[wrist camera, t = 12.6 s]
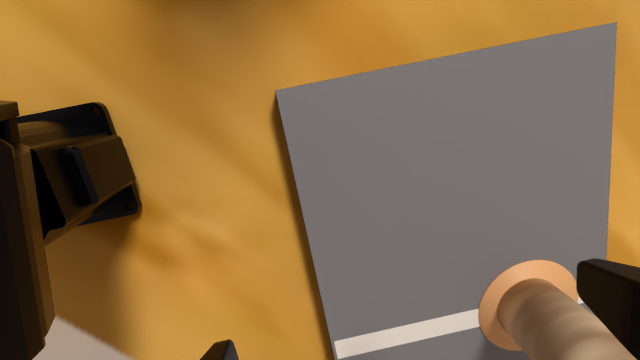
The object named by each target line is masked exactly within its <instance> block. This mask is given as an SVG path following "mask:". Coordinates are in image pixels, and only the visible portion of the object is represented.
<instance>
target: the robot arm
mask: <svg viewBox="0 0 640 360" xmlns="http://www.w3.org/2000/svg"><path fill="white" fill-rule="evenodd" d="M95 107H96V108H97V109H98V110H99V113H100V114H99V116H97V115H95V114H94V108H95ZM17 116H19V110H18V104H17V102H13V101H0V360H32V359H33V358H34V357H35V356H36V355H37V354H38V353H39V352H40V351H41V350H42V349H43V348H44V346H45V338H44V337H45V336H46V335H47V333H48V331H49V329H50V327H51V324H52V322H53V320H54V318H55V314H54V307H53V300H52V294H51V287H50V280H49V273H48V267H47V260H46V253H45V246H46V245H48V244H49V243H51V242H52V241H54V240H56V239H57V238H59V237H60V236H62V235H63V234H65V233H66V232H68V231H69V230H71V229H73V228H74V227H76V226H79V225H84V224H89V223H94V222H98V221H103V220H108V219H113V218H117V217H122V216H127V215H132V214H134V213H136V212H137V211H138V210H139V209H140V208H141V201H140V199H139V196H138V193H137V190H136V188H135V185H134V180H135V176H134V173H133V170H132V167H131V164H130V162H129V159H128V156H127V153H126V150H125V148H124V145H123V142H122V139H121V138H120V137H119V136H118V135H116V132H115V129H114V126H113V123H112V121H111V118H110V115H109V112H108V110H107V108H106V106H105V105H103V104H102V103H99V102H93V103H87V104H82V105H77V106H72V107H67V108H61V109H56V110H51V111H46V112H41V113H36V114H31V115H26V116H21V117H17ZM128 202H130V203H132V204H133V205H134V208H130V207H129V206H128ZM576 290H577V293H578V295H579V297H580V299H581V300H582V301H583V302H584V303H585V304H586V305H587V307H588V308H589V309H590V310H591V311H592V312H593V313H594V314H595V315H596V316H597V318H598V319H599V320H600V321H601V322H602V323H603V324H604V325H605V326H606V328H607V329H608V330H609V331H610V332H611V333H612V334H613V335H614V336H615V338H616V339H617V340H618V341H619V342H620V343H621V344H622V345H623V346H624V347H625V348H626V349H627V350H628V352H629V353H630V354H632V355H633V356H634V357H635V358H636V359H637V360H640V268H639V267H635V266H630V265H625V264H621V263H616V262H612V261H607V260H603V259H598V258H592V259H588V260H583V261H580V262H579V263H578V264H577V276H576ZM200 360H239V359H238V355H237V352H236V349H235V346H234V343H233V342H232V340H224V341H220V342H216V343H214V344H213V345H212V346H211V348H210V349H209V350H208V351H207V352H206V353H205V354H204V356H203V357H202V358H201V359H200Z"/></svg>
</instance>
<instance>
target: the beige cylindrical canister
mask: <svg viewBox="0 0 640 360" xmlns="http://www.w3.org/2000/svg"><path fill="white" fill-rule="evenodd" d="M497 318H498V321H499V323H500V325H501V326H502V328H503V329H504V330H505V331H506V332H507V333H508V334H509V336H510V337H511V338H512V339H513V340H514V341H515V342H516V344H517V345H518V346H519V347H520V348H521V349H522V350H523V352H524V353H525V354H526V355H527V356H528V357H529V358H530V359H531V360H637V359H636V358H635V357H634V356H633V355H632V354H630V353H629V352H628V350H627V349H626V348H625V347H624V346H623V345H622V344H621V343H620V342H619V341H618V340H617V339H616V338H615V336H614V335H613V334H612V333H611V332H610V331H609V330H608V329H607V328H606V326H605V325H604V324H603V323H602V322H601V321H600V320H599V319H598V318H597V317H596V316H595V315H593V314H592V313H591V312H589V311H588V310H587V309H585V308H584V307H583V306H581V305H580V304H579V303H577V302H576V301H575V300H573V299H572V298H570V297H569V296H568V295H566V294H565V293H564V292H562V291H561V290H560V289H558V288H557V287H556V286H554V285H553V284H552V283H550V282H549V281H547V280H544V279H539V278H531V279H526V280H523V281H520V282H518V283H516V284H515V285H513V286H512V287H510V288H509V289H508V290H507V291H506V292H505V293H504V295H503V296H502V298H501V299H500V302H499V304H498V308H497Z"/></svg>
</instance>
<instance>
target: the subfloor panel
mask: <svg viewBox="0 0 640 360" xmlns="http://www.w3.org/2000/svg"><path fill="white" fill-rule="evenodd" d="M616 31H617V22H615V23H610V24H605V25H600V26H595V27H590V28H585V29H580V30H575V31H570V32H565V33H560V34H555V35H550V36H545V37H540V38H535V39H530V40H525V41H520V42H515V43H510V44H505V45H500V46H495V47H490V48H485V49H480V50H475V51H470V52H465V53H460V54H455V55H450V56H445V57H440V58H435V59H430V60H425V61H420V62H415V63H410V64H405V65H400V66H395V67H390V68H385V69H380V70H375V71H370V72H365V73H360V74H355V75H350V76H345V77H340V78H335V79H330V80H325V81H320V82H315V83H310V84H305V85H301V86H296V87H291V88H286V89H281V90H276V96H277V100H278V105H279V109H280V114H281V119H282V123H283V128H284V132H285V137H286V141H287V146H288V150H289V155H290V159H291V164H292V168H293V173H294V177H295V182H296V186H297V191H298V195H299V200H300V204H301V209H302V213H303V218H304V222H305V227H306V231H307V236H308V240H309V245H310V249H311V254H312V258H313V263H314V267H315V272H316V277H317V281H318V286H319V290H320V295H321V299H322V304H323V308H324V313H325V317H326V322H327V326H328V331H329V335H330V340H331V344H332V349H333V353H334V358H335V360H531V359H530V358H529V357H528V356H527V355H526V354H525V353H524V352H523V350H522V349H521V348H520V347H519V346H518V345H517V344H516V342H515V341H514V340H513V339H512V338H511V337H510V336H509V334H508V333H507V332H506V331H505V330H504V329H503V328H502V326H501V325H500V323H499V321H498V318H497V308H498V304H499V302H500V299H501V298H502V296H503V295H504V293H505V292H506V291H507V290H508V289H509V288H510V287H512V286H513V285H515V284H516V283H518V282H520V281H523V280H526V279H531V278H539V279H544V280H547V281H549V282H550V283H552V284H553V285H554V286H556V287H557V288H558V289H560V290H561V291H562V292H564V293H565V294H566V295H568V296H569V297H570V298H572V299H573V300H575V301H576V302H577V303H579V304H580V305H581V306H583V307H584V308H585V309H587V310H588V311H589V312H591V313H592V314H593V315H595V314H594V313H593V312H592V311H591V310H590V309H589V308H588V307H587V305H586V304H585V303H584V302H583V301H582V300H581V299H580V297H579V295H578V293H577V290H576V276H577V264H578V263H579V262H580V261H583V260H588V259H592V258H598V259H603V260H606V255H607V233H608V210H609V188H610V165H611V143H612V121H613V98H614V76H615V53H616ZM595 316H596V315H595ZM596 317H597V316H596Z"/></svg>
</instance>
